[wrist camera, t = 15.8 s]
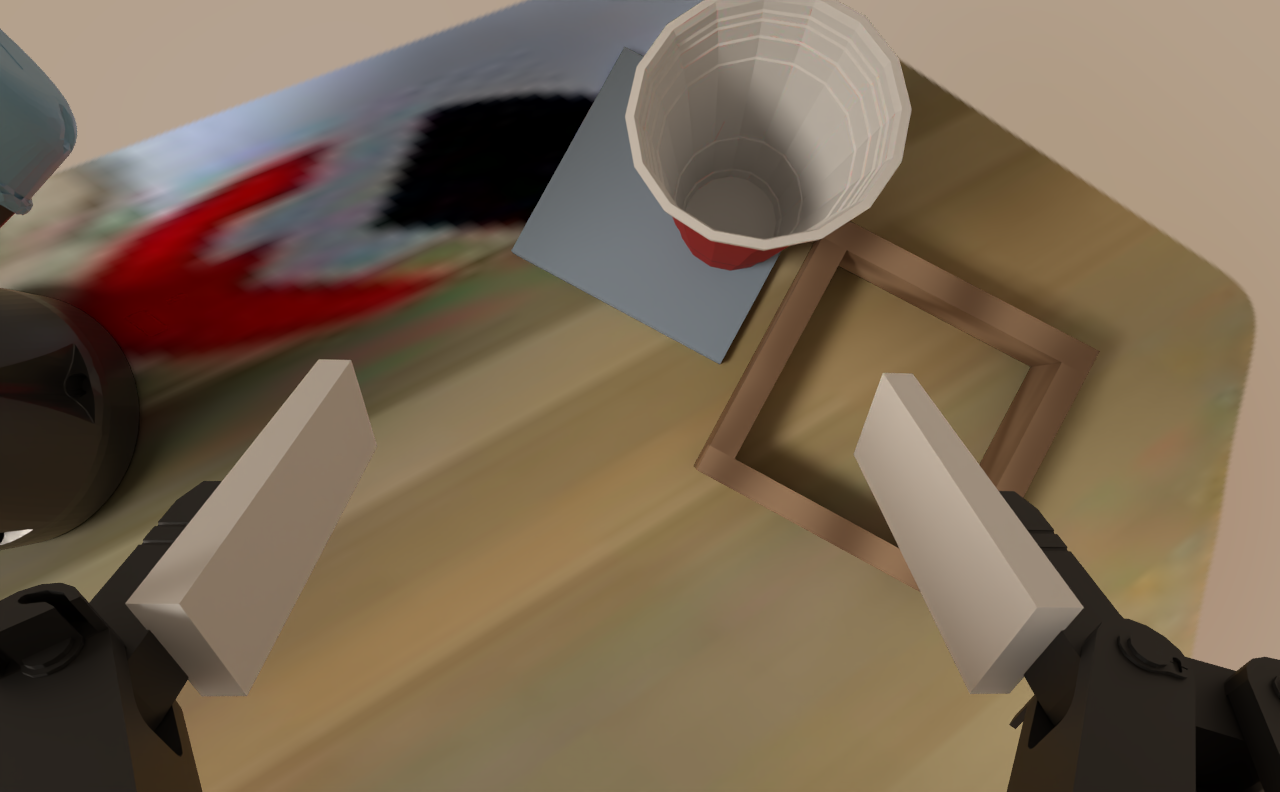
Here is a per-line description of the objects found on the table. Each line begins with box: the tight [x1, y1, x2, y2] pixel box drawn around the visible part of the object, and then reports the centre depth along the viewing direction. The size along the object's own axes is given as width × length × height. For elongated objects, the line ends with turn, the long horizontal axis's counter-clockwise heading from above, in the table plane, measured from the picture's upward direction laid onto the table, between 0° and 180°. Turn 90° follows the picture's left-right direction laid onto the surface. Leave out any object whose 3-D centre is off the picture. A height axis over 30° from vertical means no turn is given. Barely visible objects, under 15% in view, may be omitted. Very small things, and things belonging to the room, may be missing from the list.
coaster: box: [511, 47, 781, 364], centre depth 34 cm, size 14×14×1 cm
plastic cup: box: [625, 0, 912, 271], centre depth 27 cm, size 11×11×12 cm
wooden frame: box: [694, 221, 1100, 591], centre depth 32 cm, size 16×16×2 cm
